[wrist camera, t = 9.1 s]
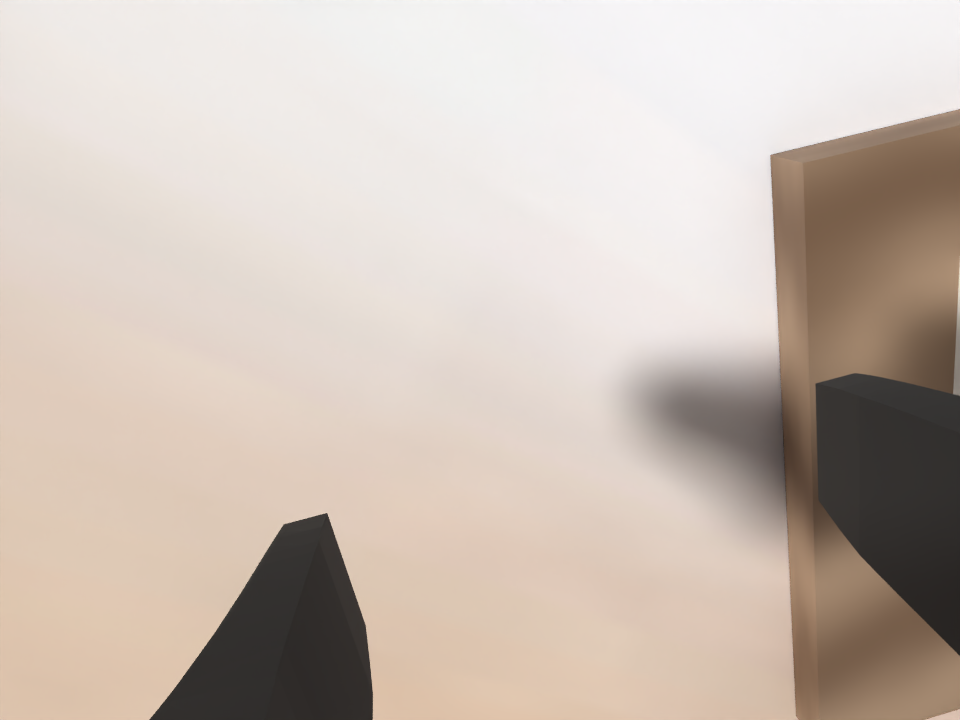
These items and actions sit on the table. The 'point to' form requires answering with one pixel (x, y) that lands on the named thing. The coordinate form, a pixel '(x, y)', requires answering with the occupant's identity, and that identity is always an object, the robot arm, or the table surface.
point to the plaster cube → (957, 349)
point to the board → (872, 351)
